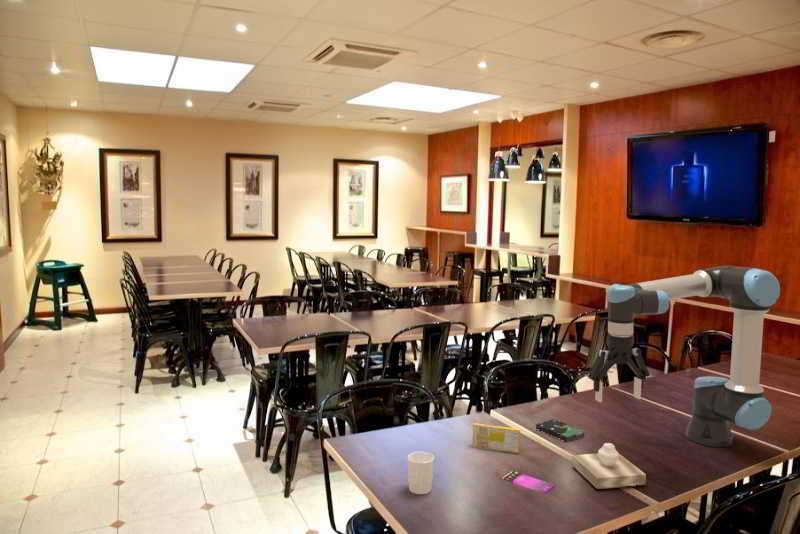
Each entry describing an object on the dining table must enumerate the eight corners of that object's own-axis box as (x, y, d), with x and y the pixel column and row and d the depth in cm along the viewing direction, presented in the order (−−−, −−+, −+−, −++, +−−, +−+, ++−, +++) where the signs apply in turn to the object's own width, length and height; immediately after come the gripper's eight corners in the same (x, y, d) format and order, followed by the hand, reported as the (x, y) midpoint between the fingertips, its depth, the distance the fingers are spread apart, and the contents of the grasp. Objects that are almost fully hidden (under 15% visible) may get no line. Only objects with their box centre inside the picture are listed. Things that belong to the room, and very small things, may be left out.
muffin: (613, 470, 176) (614, 448, 175) (594, 464, 180) (595, 443, 180) (621, 464, 181) (622, 443, 180) (602, 458, 185) (603, 437, 184)
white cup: (405, 483, 175) (406, 451, 174) (431, 482, 176) (431, 451, 175) (408, 496, 167) (408, 463, 166) (435, 495, 168) (435, 462, 167)
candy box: (519, 451, 199) (520, 428, 198) (518, 454, 197) (519, 430, 196) (473, 444, 204) (473, 422, 203) (472, 447, 202) (472, 424, 201)
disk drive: (535, 431, 218) (567, 444, 206) (535, 424, 218) (567, 436, 206) (553, 425, 224) (585, 437, 212) (553, 418, 224) (585, 430, 212)
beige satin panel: (616, 463, 190) (617, 452, 190) (645, 487, 174) (645, 474, 174) (571, 466, 187) (572, 455, 187) (596, 490, 172) (597, 478, 171)
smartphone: (512, 472, 184) (512, 469, 184) (555, 486, 175) (555, 483, 175) (500, 480, 179) (500, 477, 179) (544, 495, 169) (544, 492, 169)
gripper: (648, 329, 188) (645, 392, 190) (578, 333, 183) (576, 398, 185) (663, 335, 180) (660, 400, 183) (590, 339, 176) (588, 406, 178)
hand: (617, 399), depth 184 cm, fingers open, 13 cm apart
